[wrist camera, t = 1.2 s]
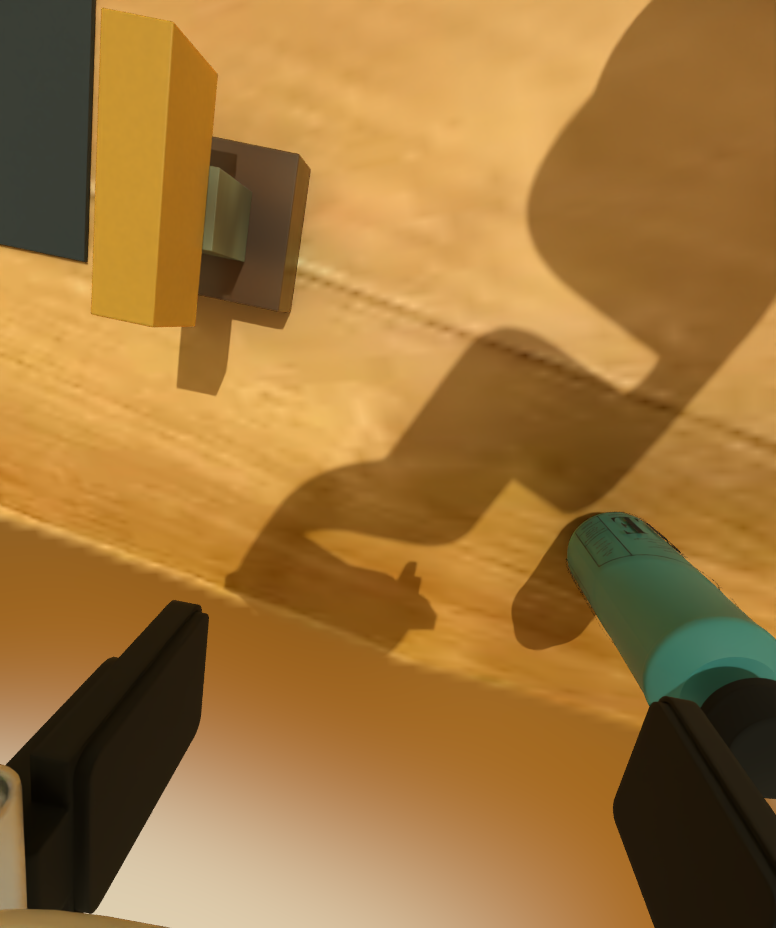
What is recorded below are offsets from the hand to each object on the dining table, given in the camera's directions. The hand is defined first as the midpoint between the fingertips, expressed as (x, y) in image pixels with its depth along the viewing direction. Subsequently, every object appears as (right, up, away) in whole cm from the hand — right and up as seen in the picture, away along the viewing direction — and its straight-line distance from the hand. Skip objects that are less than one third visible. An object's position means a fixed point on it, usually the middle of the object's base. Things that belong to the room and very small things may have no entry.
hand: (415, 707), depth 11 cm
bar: (-11, +19, +16) cm, 27 cm away
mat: (-25, +28, +23) cm, 43 cm away
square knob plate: (-11, +21, +23) cm, 33 cm away
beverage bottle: (+15, -1, +27) cm, 32 cm away
